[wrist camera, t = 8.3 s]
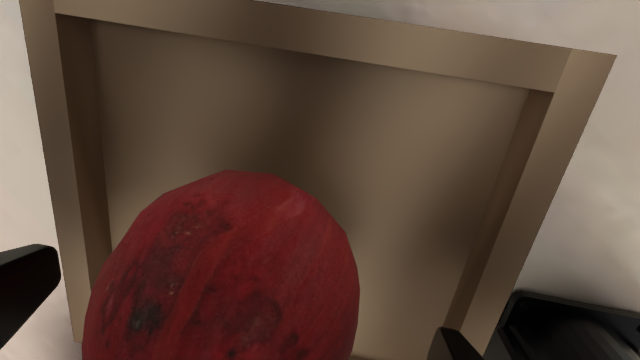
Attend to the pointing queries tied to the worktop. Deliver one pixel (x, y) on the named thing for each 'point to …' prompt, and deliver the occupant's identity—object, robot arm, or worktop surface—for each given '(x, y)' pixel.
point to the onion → (227, 278)
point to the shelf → (314, 141)
